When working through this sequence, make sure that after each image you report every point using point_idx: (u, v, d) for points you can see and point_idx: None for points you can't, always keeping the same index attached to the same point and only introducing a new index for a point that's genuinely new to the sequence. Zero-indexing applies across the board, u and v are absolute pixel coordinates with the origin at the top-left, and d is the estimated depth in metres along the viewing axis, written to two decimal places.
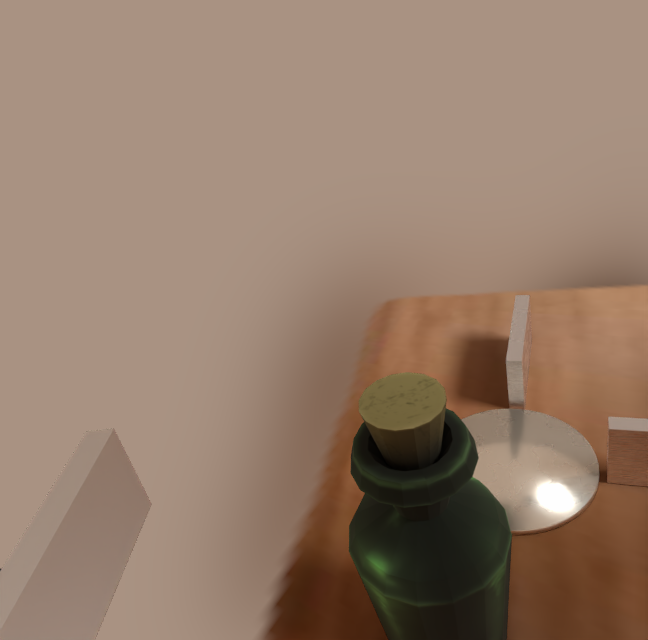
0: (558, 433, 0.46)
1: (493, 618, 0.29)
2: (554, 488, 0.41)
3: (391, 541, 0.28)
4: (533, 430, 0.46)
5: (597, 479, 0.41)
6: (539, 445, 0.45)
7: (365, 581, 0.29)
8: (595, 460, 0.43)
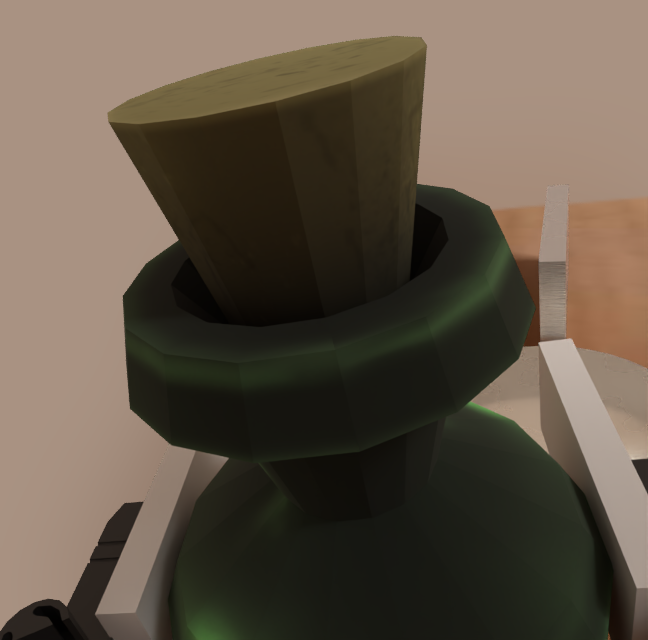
0: (628, 379, 0.27)
1: None
2: None
3: (257, 581, 0.09)
4: None
5: None
6: None
7: None
8: None
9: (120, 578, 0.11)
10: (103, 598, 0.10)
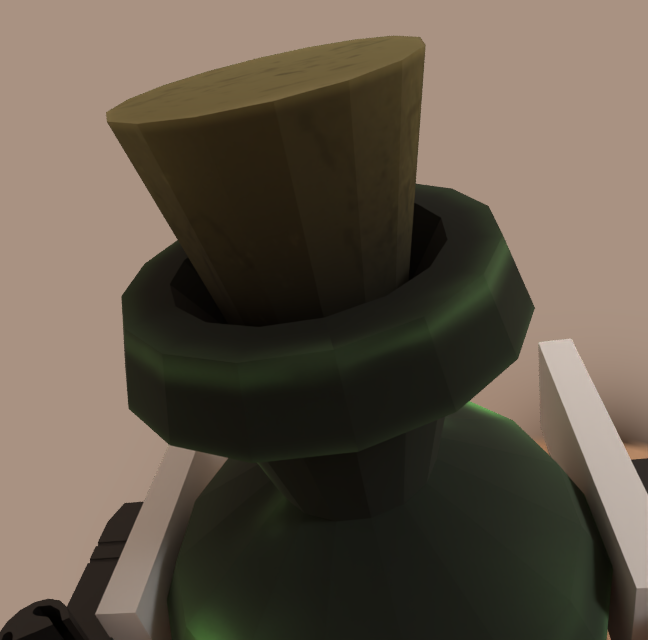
0: None
1: None
2: None
3: (256, 580, 0.09)
4: None
5: None
6: None
7: None
8: None
9: (120, 578, 0.11)
10: (103, 598, 0.10)
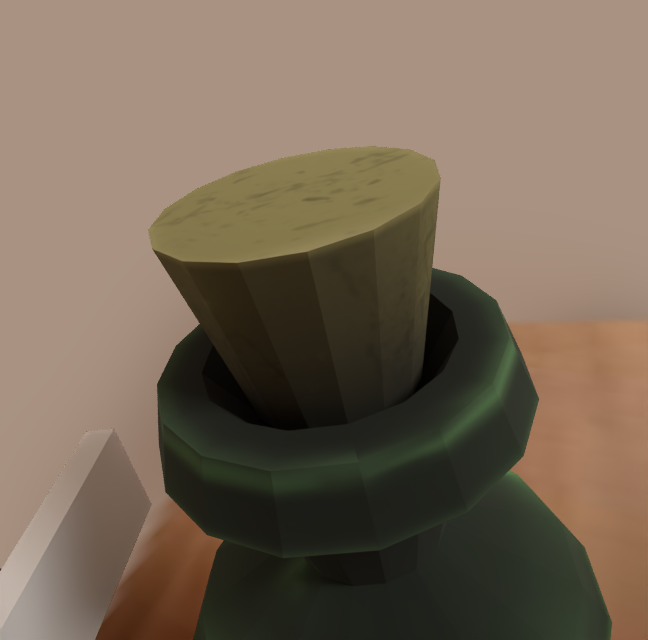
0: None
1: None
2: None
3: (278, 639, 0.10)
4: None
5: None
6: None
7: None
8: None
9: None
10: None
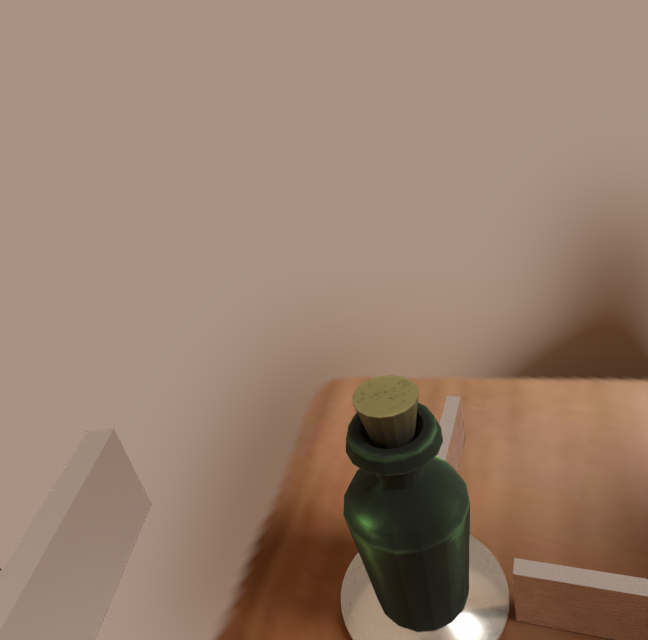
0: (475, 557, 0.45)
1: (454, 568, 0.38)
2: (462, 625, 0.40)
3: (376, 505, 0.36)
4: None
5: (505, 617, 0.40)
6: None
7: (355, 536, 0.37)
8: (506, 594, 0.42)
9: None
10: None
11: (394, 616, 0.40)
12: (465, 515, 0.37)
